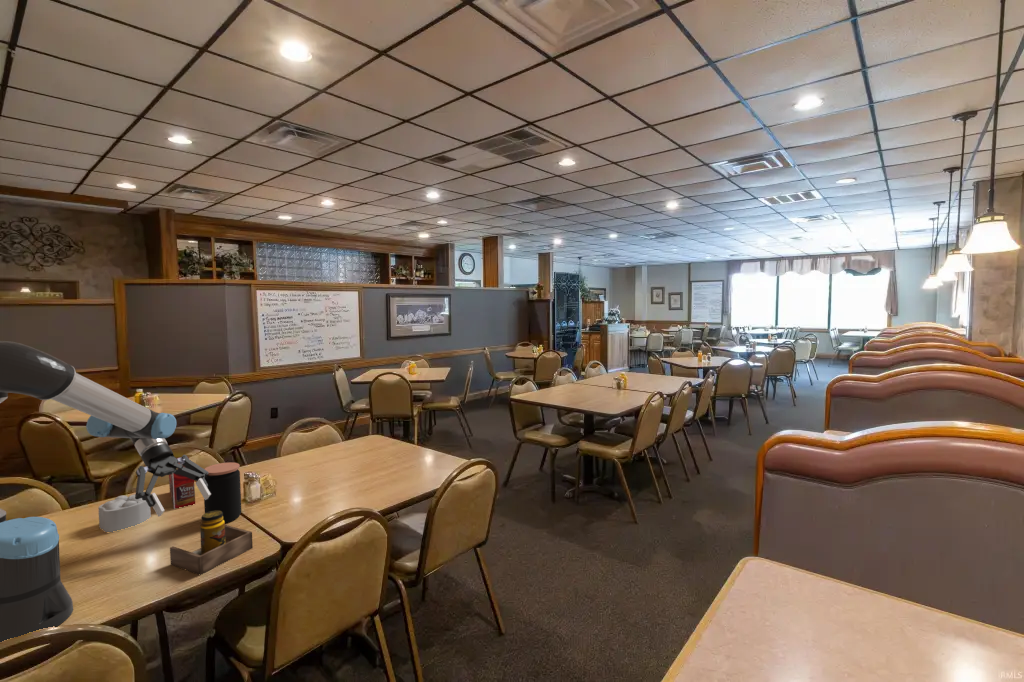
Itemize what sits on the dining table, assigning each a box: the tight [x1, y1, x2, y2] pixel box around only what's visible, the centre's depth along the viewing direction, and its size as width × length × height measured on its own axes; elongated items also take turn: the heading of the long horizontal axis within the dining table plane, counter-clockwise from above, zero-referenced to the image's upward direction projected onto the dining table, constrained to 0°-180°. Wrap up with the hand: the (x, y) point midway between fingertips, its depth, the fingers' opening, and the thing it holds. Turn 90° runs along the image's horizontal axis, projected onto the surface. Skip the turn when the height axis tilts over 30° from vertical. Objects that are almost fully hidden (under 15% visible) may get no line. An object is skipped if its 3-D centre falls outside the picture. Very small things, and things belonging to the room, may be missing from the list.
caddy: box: [169, 524, 254, 576], centre depth 135 cm, size 16×13×5 cm
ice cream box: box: [168, 455, 196, 510], centre depth 176 cm, size 20×6×13 cm, turn 40°
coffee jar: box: [203, 461, 242, 524], centre depth 159 cm, size 11×11×18 cm
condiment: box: [192, 511, 226, 555], centre depth 134 cm, size 7×8×12 cm
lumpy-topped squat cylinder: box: [98, 493, 152, 533], centre depth 156 cm, size 10×13×9 cm
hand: (185, 505), depth 142 cm, fingers open, 13 cm apart
